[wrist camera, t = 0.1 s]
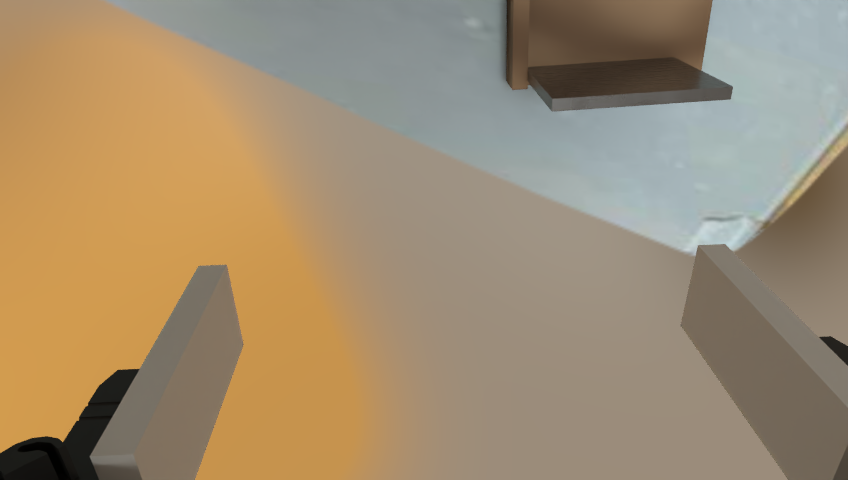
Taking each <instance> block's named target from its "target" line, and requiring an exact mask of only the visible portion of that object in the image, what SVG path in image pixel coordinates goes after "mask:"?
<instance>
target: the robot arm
mask: <svg viewBox="0 0 848 480" xmlns="http://www.w3.org/2000/svg"><path fill="white" fill-rule="evenodd" d="M681 327H682V328H683V329H684V331H685V332H686V334H687V335H688V337H689V338H690V340H691V341H692V342H693V344H694V345H695V347H696V348H697V350H698V351H699V352H700V354H701V355H702V357H703V358H704V360H705V361H706V362H707V364H708V365H709V367H710V368H711V370H712V371H713V373H714V374H715V375H716V377H717V378H718V380H719V381H720V383H721V384H722V385H723V387H724V388H725V390H726V391H727V392H728V394H729V395H730V397H731V398H732V400H733V401H734V403H735V404H736V405H737V407H738V408H739V410H740V411H741V412H742V414H743V416H744V417H745V418H746V420H747V421H748V423H749V424H750V426H751V427H752V428H753V430H754V431H755V433H756V434H757V436H758V437H759V438H760V440H761V441H762V443H763V444H764V445H765V447H766V448H767V450H768V451H769V453H770V454H771V455H772V457H773V458H774V460H775V461H776V463H777V464H778V466H779V467H780V468H781V470H782V471H783V473H784V474H785V476H786V477H787V479H788V480H848V346H846V345H845V344H843V343H841V342H839V341H838V340H836V339H834V338H833V337H831V336H829V337H818V336H817V335H816V334H815V333H814V332H813V331H812V330H811V329H810V328H809V327H808V326H807V325H806V324H805V323H804V322H803V321H802V320H801V319H800V318H799V317H798V316H797V315H796V314H795V313H794V312H793V311H792V310H791V309H789V307H788V306H787V305H786V304H785V303H784V302H783V301H782V300H781V299H780V298H779V297H778V296H777V295H776V294H775V293H774V292H773V291H772V290H771V289H769V287H768V286H767V285H766V284H765V283H764V282H763V281H762V280H761V279H760V278H759V277H758V276H757V275H756V274H754V273H753V271H752V270H750V268H748V267H747V266H746V265H745V264H744V263H743V262H742V261H741V260H740V259H739V258H738V257H737V256H736V255H735V254H734V253H733V252H732V251H731V250H730V249H729V248H728V247H727V246H726V245H725V244H719V245H698V248H697V253H696V257H695V262H694V266H693V271H692V276H691V280H690V285H689V290H688V294H687V299H686V304H685V308H684V313H683V317H682V322H681ZM242 347H243V341H242V336H241V331H240V326H239V321H238V316H237V312H236V307H235V303H234V298H233V293H232V288H231V283H230V278H229V273H228V269H227V265H210V266H198V268H197V270H196V272H195V273H194V275H193V277H192V279H191V280H190V282H189V284H188V286H187V287H186V289H185V291H184V292H183V294H182V296H181V298H180V299H179V301H178V303H177V305H176V307H175V308H174V310H173V312H172V314H171V316H170V317H169V319H168V321H167V322H166V324H165V326H164V328H163V329H162V331H161V333H160V334H159V336H158V338H157V340H156V341H155V343H154V345H153V347H152V349H151V350H150V352H149V354H148V355H147V357H146V359H145V361H144V362H143V364H142V366H141V368H140V369H128V370H117V371H116V372H115V373H114V374H113V375H111V376H110V377H109V378H108V379H107V380H105V381H104V382H103V383H102V384H101V385H100V386H99V387H98V388H97V390H96V392H95V393H94V395H93V396H92V398H91V399H90V401H89V403H88V406H87V407H85V409H84V411H83V412H82V413H81V415H80V417H79V421H76V423H75V425H74V426H73V428H72V429H71V431H70V432H69V434H68V435H67V437H66V439H65V440H64V442H62V441H61V440H59V439H58V438H52V437H38V438H32V439H28V440H26V441H23V442H20V443H17V444H15V445H13V446H12V447H10V448H8V449H7V450H5V451H3V452H2V453H0V480H195V477H196V475H197V472H198V469H199V467H200V464H201V461H202V458H203V455H204V452H205V450H206V447H207V444H208V442H209V439H210V436H211V433H212V430H213V428H214V425H215V422H216V419H217V417H218V414H219V411H220V408H221V406H222V403H223V400H224V397H225V394H226V392H227V389H228V386H229V383H230V381H231V378H232V375H233V372H234V370H235V366H236V364H237V361H238V358H239V356H240V353H241V350H242Z"/></svg>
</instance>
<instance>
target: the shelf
mask: <svg viewBox="0 0 848 480" xmlns="http://www.w3.org/2000/svg"><path fill="white" fill-rule="evenodd" d="M711 7H712V0H507V66H506V81H507V82H508V84H509V85H510V87H511V88H512V90H517V89H527V88H528V85H530V84H529V82H528V67H534V66H549V65H564V64H579V63H594V62H608V61H623V60H638V59H653V58H668V57H675V58H677V59H679V60H681V61H683V62H685V63H687V64H689V65H691V66H693V67H695V68H697V69H699V70H701V69H702V63H703V57H704V50H705V44H706V38H707V32H708V25H709V19H710V13H711Z"/></svg>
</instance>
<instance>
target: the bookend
mask: <svg viewBox="0 0 848 480" xmlns="http://www.w3.org/2000/svg"><path fill="white" fill-rule="evenodd" d="M528 82H529V84H530V85H531V86H532V87H533V89H534V90H535V91H536V92H537V94H538V95H539V96H540V97H541V99H542V100H543V101H544V102H545V104H546V105H547V106H548V107H549V109H550V110H551V111H566V110H580V109H595V108H610V107H625V106H639V105H654V104H669V103H684V102H698V101H713V100H728V99H731V95H732V89H733V87H732V86H731V85H729V84H727V83H725V82H723V81H721V80H719V79H717V78H715V77H713V76H711V75H709V74H707V73H705V72H703V71H701V70H699V69H697V68H695V67H693V66H691V65H689V64H687V63H685V62H683V61H681V60H679V59H677V58H675V57H668V58H653V59H638V60H623V61H608V62H594V63H579V64H564V65H549V66H534V67H528Z"/></svg>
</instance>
